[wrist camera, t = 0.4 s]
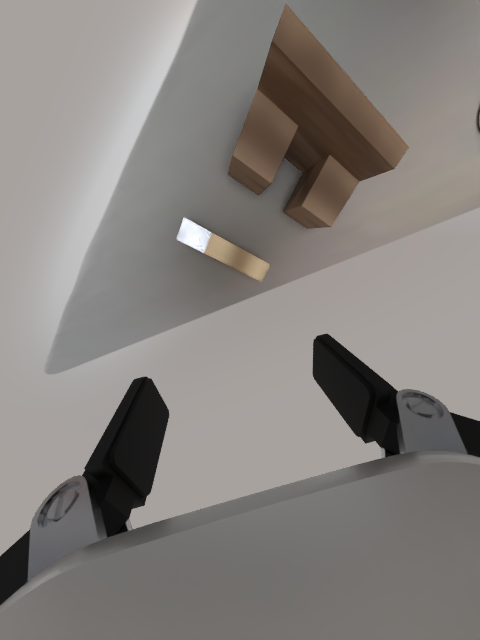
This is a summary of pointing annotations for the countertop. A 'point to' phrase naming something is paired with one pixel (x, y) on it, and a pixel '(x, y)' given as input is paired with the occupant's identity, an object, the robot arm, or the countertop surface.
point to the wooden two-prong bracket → (311, 128)
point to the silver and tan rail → (221, 250)
